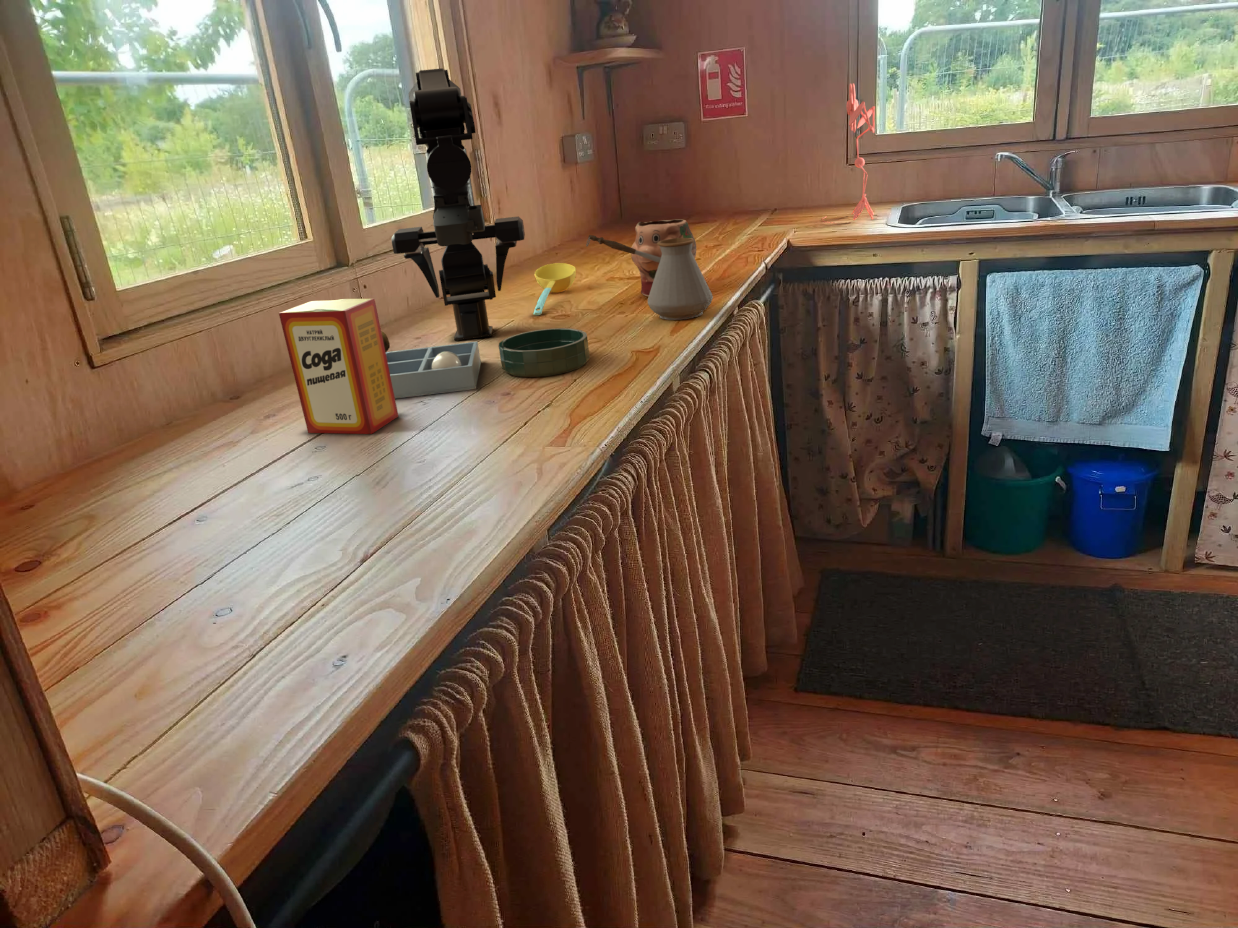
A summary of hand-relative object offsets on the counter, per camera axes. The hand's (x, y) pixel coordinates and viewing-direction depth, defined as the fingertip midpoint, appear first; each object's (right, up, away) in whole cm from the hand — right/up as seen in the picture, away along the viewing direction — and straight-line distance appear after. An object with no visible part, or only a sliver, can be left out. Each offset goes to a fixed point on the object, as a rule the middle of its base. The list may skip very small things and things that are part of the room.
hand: (468, 294), depth 130 cm
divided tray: (-6, -13, 0) cm, 14 cm away
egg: (-2, -13, -4) cm, 14 cm away
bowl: (+11, -10, +2) cm, 16 cm away
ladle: (+8, +8, +47) cm, 48 cm away
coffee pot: (+29, +1, +25) cm, 38 cm away
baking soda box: (-12, -20, -16) cm, 29 cm away
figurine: (+87, +43, +115) cm, 150 cm away
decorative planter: (+32, +9, +44) cm, 55 cm away
